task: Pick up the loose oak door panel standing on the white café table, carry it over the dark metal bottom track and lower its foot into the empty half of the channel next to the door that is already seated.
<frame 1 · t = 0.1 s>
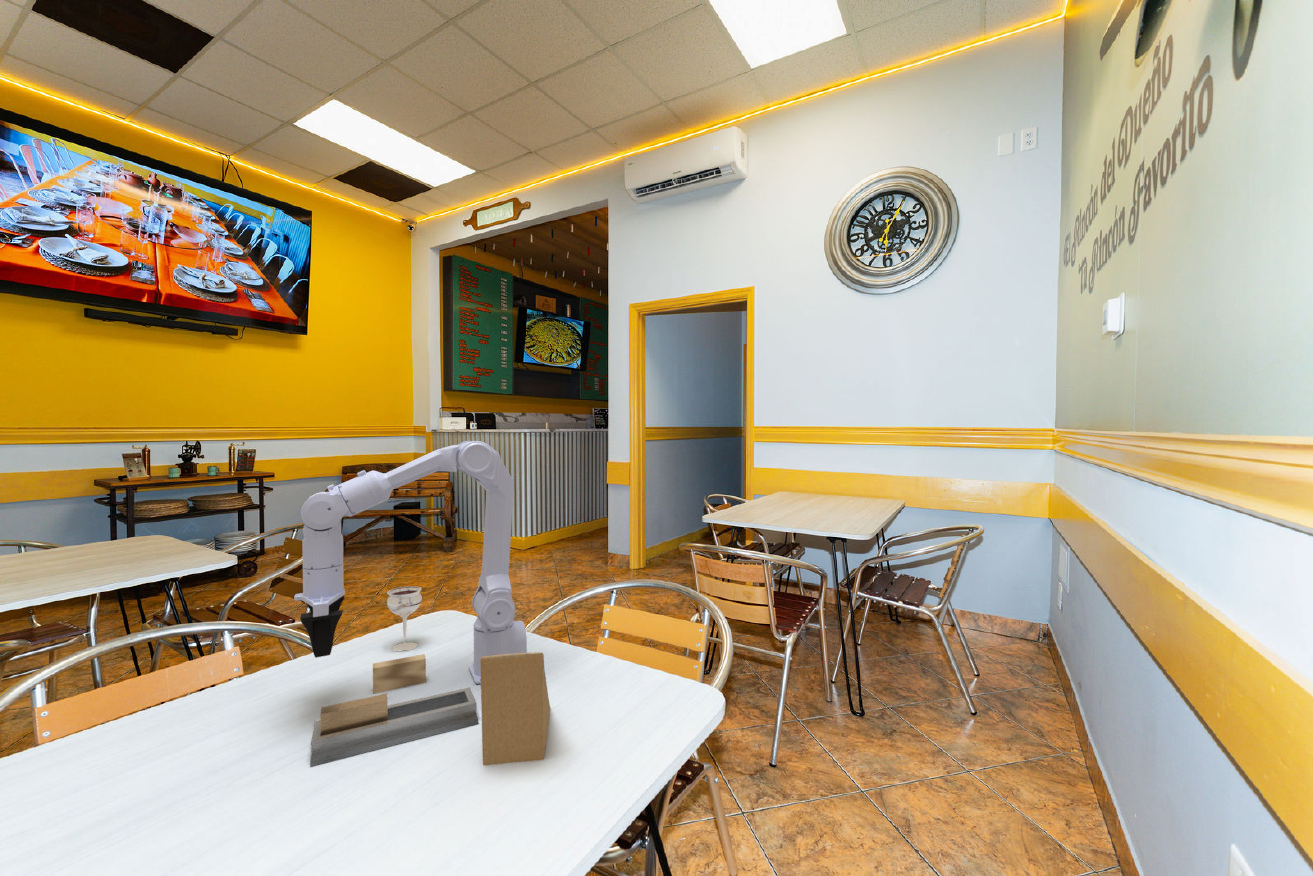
hand: (324, 647, 88), 10 cm above the table, fingers open, 7 cm apart
wineglass: (404, 647, 114), on the table
door: (399, 686, 96), on the table
track: (398, 729, 82), on the table
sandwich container: (519, 734, 81), on the table
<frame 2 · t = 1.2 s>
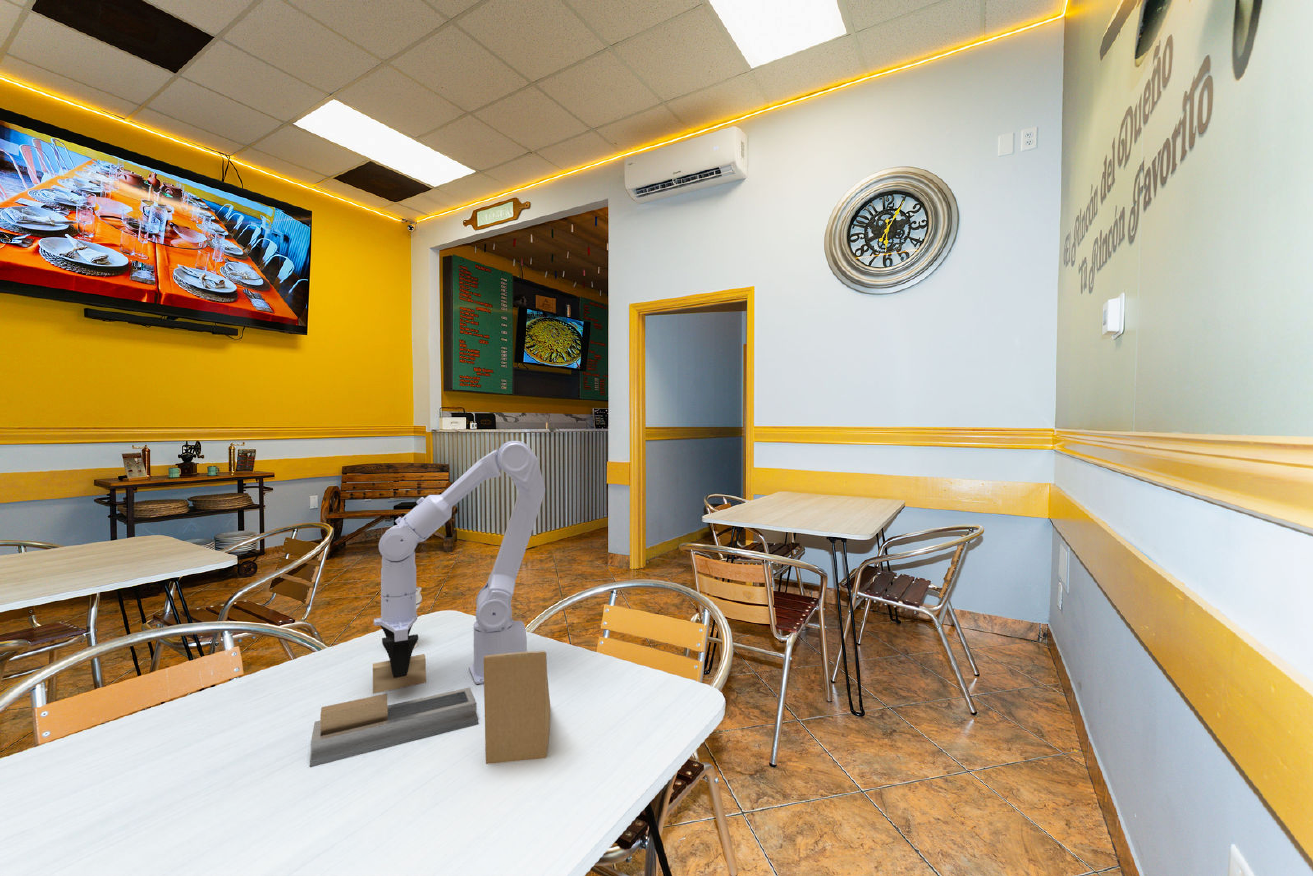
hand: (398, 668, 96), 3 cm above the table, fingers open, 7 cm apart
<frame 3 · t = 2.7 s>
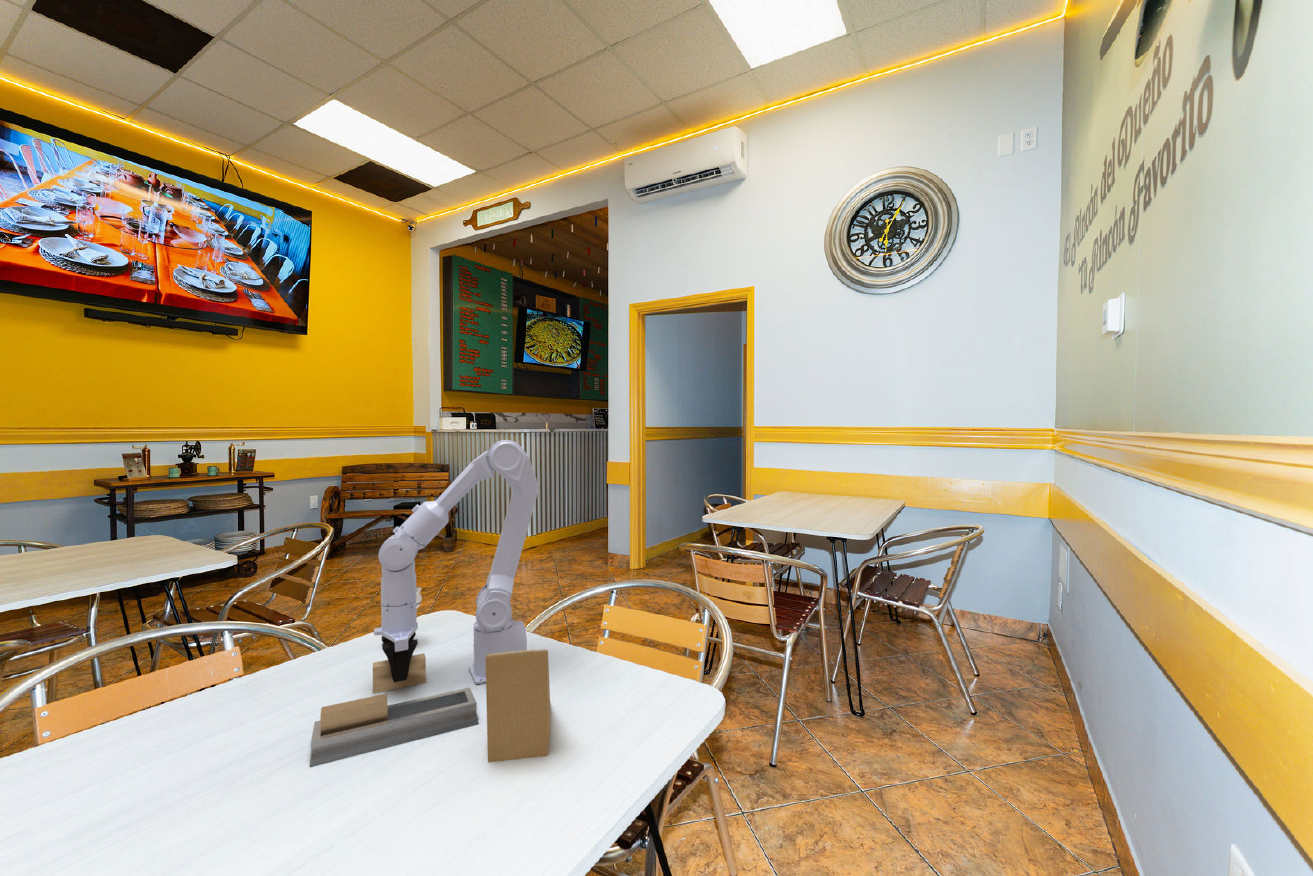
hand: (399, 677, 96), 1 cm above the table, fingers closed on door, 2 cm apart
door: (399, 685, 96), on the table, touching gripper
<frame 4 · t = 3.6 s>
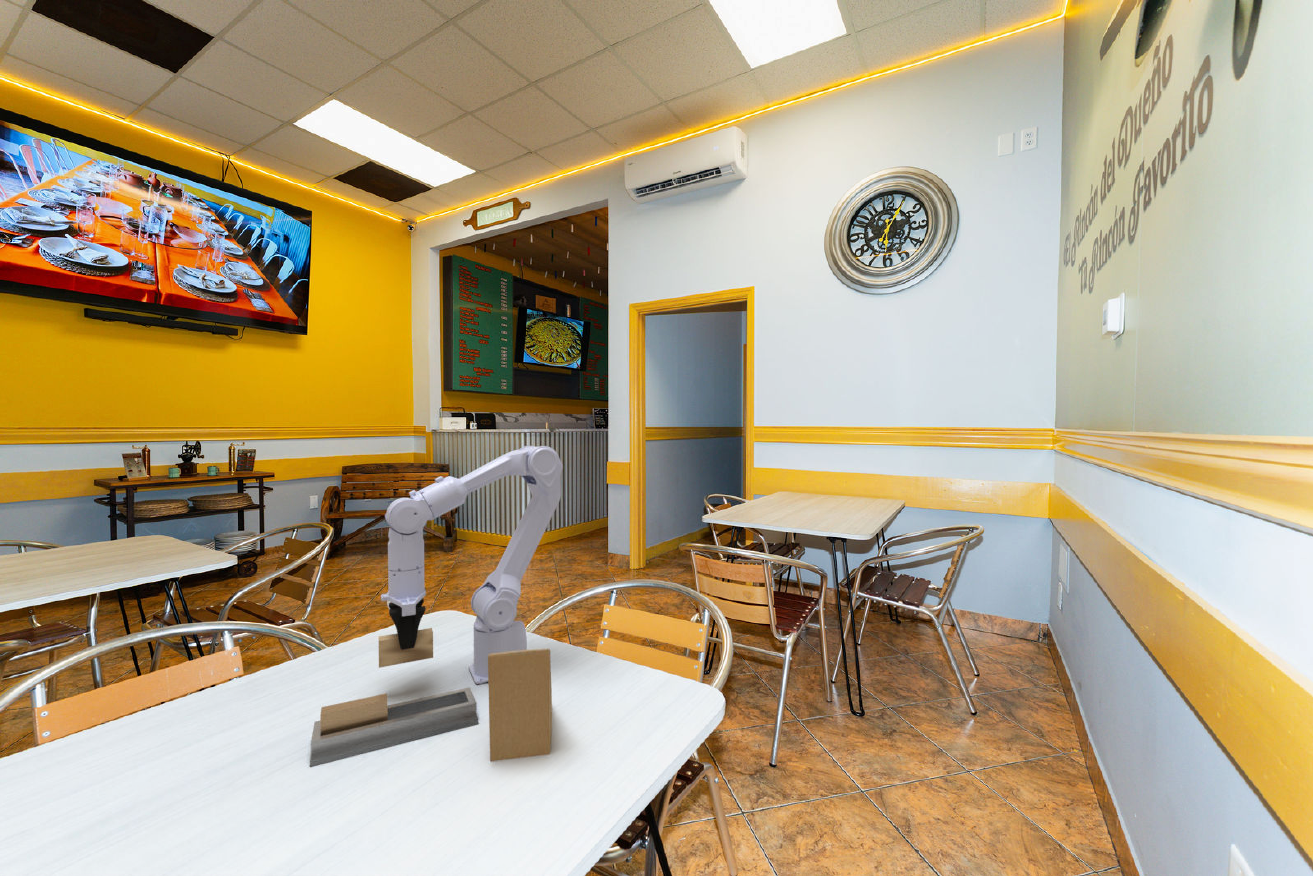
hand: (407, 645, 93), 8 cm above the table, fingers closed on door, 2 cm apart
door: (406, 660, 93), point 6 cm above the table, touching gripper
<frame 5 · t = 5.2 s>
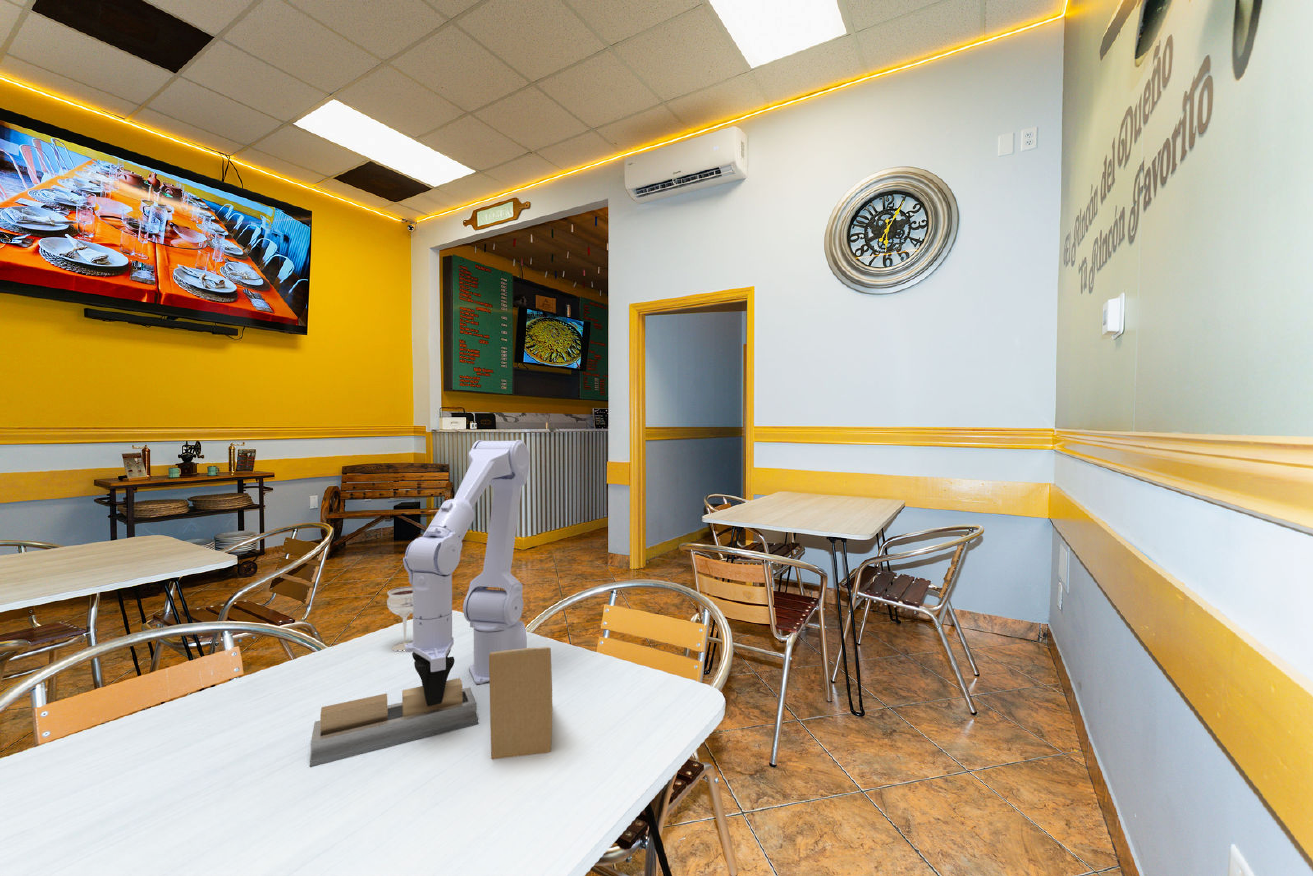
hand: (433, 699, 84), 3 cm above the table, fingers closed on door, 2 cm apart
door: (432, 715, 84), point 1 cm above the table, touching gripper, track
when the fingers open (3 cm above the table, at t = 5.8 s): door stays where it is, resting on track.
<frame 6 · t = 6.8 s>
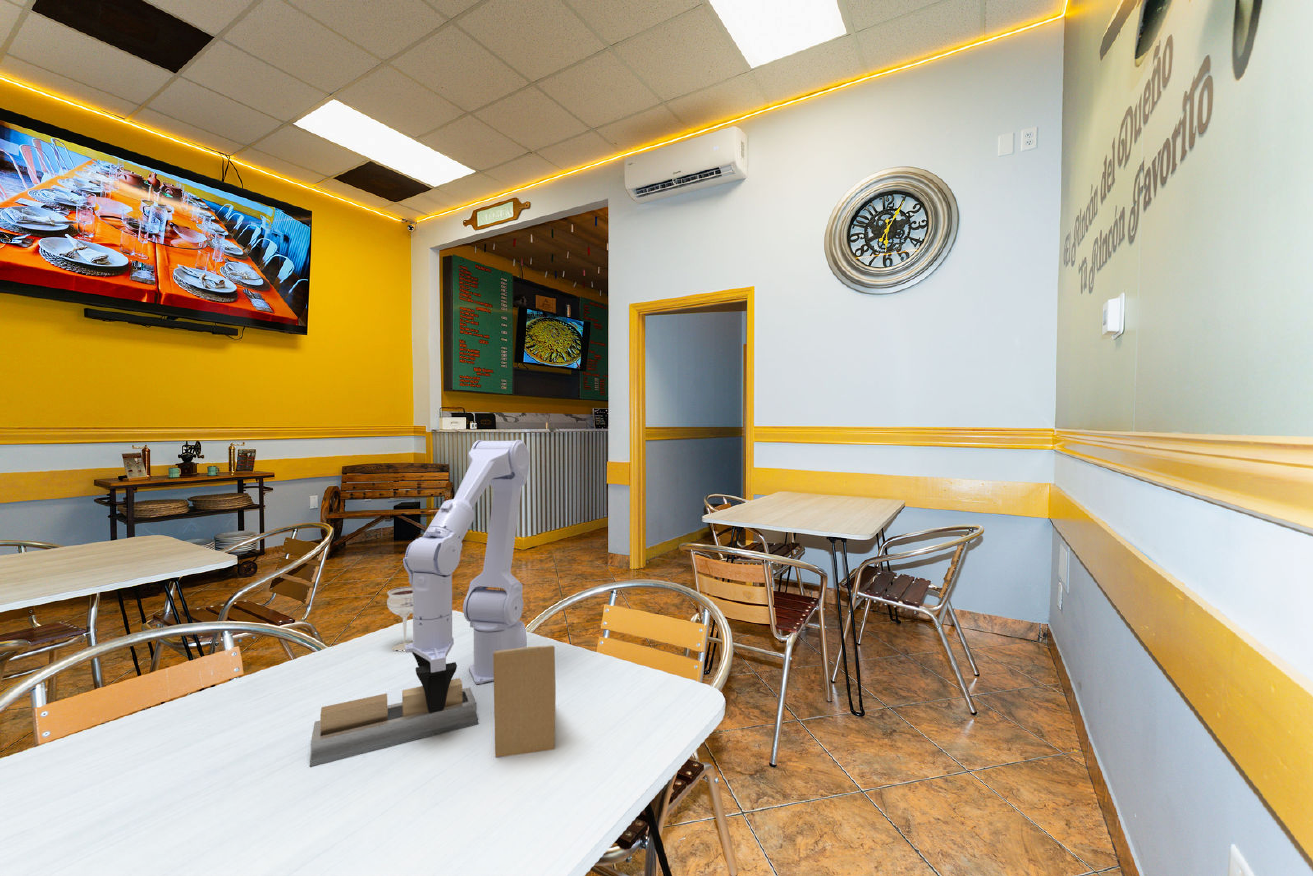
hand: (433, 700, 84), 3 cm above the table, fingers open, 7 cm apart
door: (432, 715, 84), point 1 cm above the table, touching track
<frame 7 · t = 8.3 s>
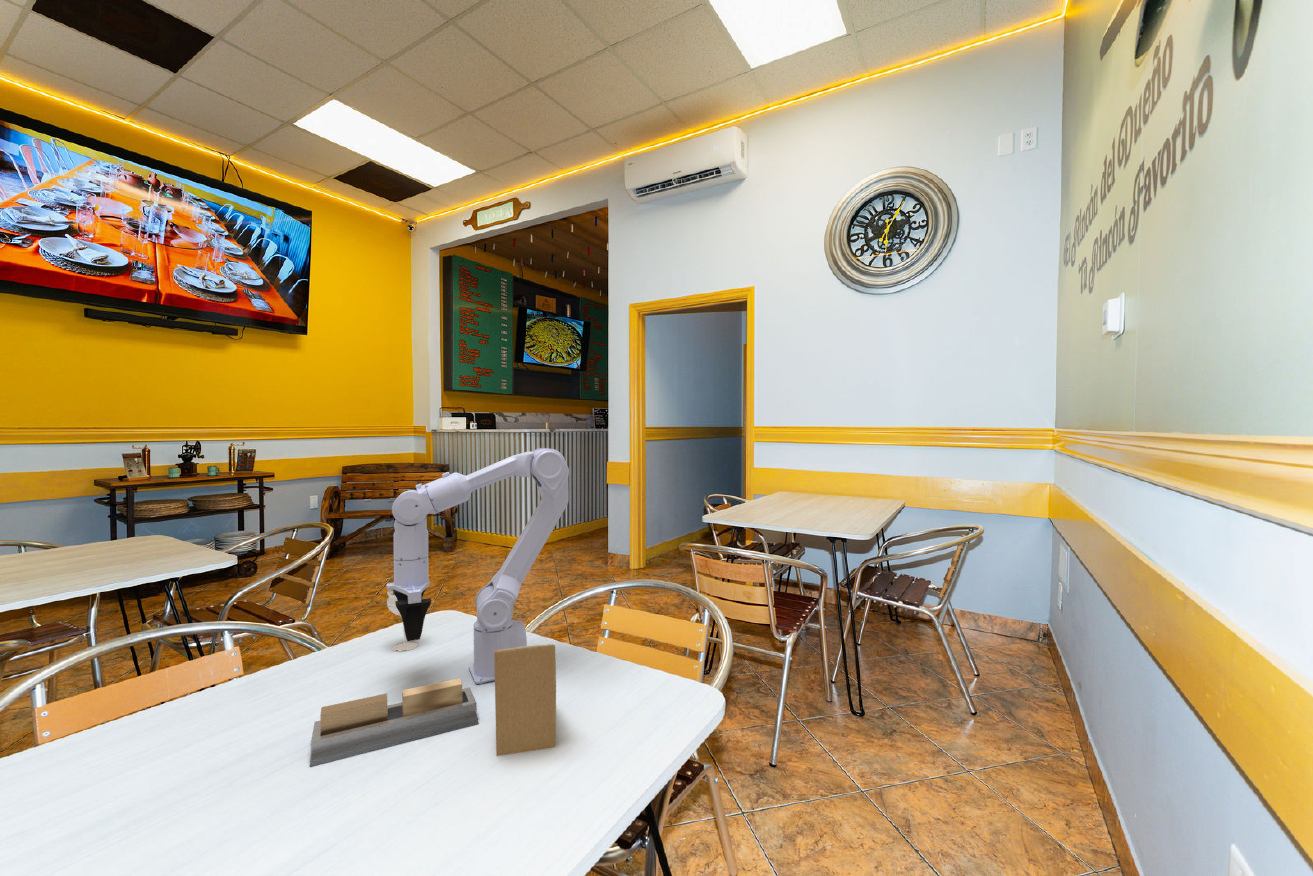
hand: (411, 632, 96), 9 cm above the table, fingers open, 7 cm apart
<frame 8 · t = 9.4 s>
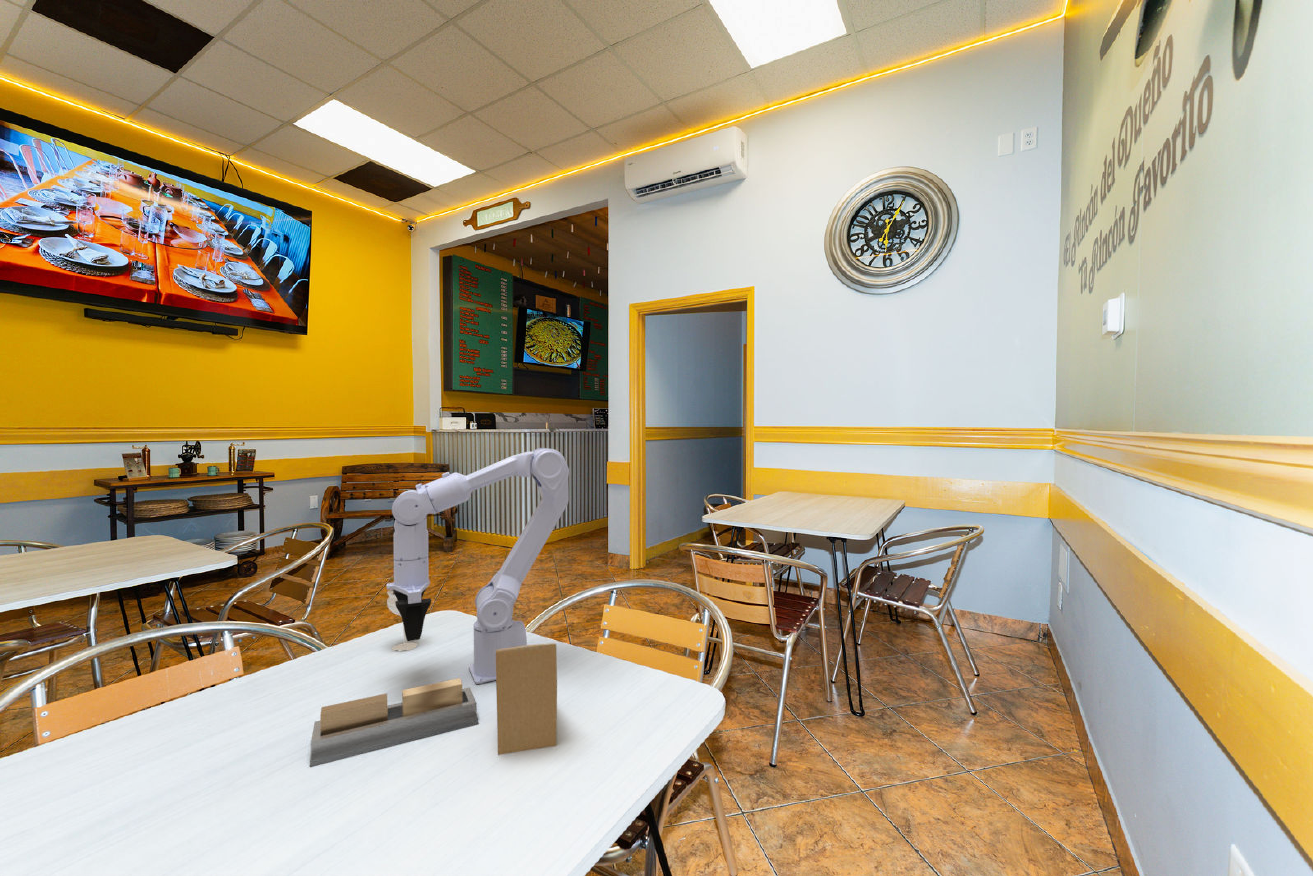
hand: (411, 632, 96), 9 cm above the table, fingers open, 7 cm apart
at the end: door 0.1 cm from the target spot on the track, point 0.8 cm above the track's base; door tilted 0°; the gripper is holding nothing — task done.
